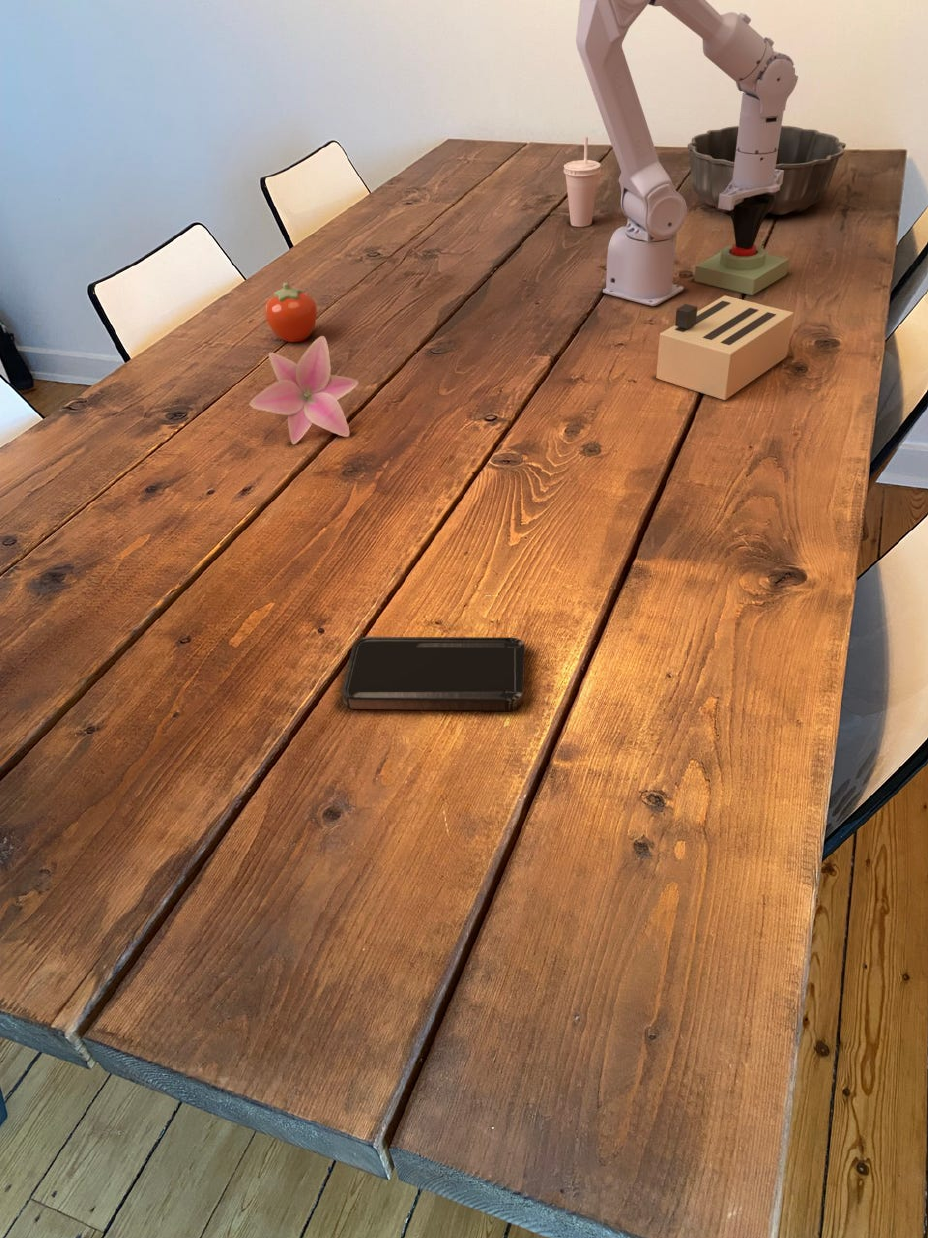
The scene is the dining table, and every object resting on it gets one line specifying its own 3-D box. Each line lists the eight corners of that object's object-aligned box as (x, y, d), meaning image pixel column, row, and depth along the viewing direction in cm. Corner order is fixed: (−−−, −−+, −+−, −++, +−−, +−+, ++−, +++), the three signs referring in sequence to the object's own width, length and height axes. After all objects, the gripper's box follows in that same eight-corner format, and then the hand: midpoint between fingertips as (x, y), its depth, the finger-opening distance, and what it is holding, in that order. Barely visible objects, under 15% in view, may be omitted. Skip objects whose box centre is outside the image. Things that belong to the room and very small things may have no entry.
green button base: (693, 281, 145) (696, 254, 142) (728, 261, 150) (731, 235, 147) (752, 295, 139) (756, 268, 137) (786, 274, 145) (790, 247, 142)
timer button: (725, 259, 143) (727, 247, 142) (738, 252, 145) (739, 240, 144) (747, 264, 141) (748, 252, 140) (759, 257, 143) (761, 245, 142)
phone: (522, 701, 76) (339, 698, 78) (522, 711, 77) (341, 708, 78) (524, 636, 82) (355, 635, 84) (524, 646, 83) (356, 645, 84)
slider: (674, 325, 118) (676, 308, 116) (683, 320, 119) (685, 303, 117) (687, 329, 117) (688, 311, 115) (696, 323, 118) (697, 306, 116)
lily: (245, 446, 116) (243, 399, 107) (272, 371, 121) (272, 321, 112) (340, 472, 117) (346, 428, 108) (364, 397, 122) (371, 349, 113)
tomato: (330, 329, 139) (322, 275, 133) (303, 350, 134) (293, 295, 128) (288, 323, 141) (278, 270, 136) (260, 344, 136) (248, 289, 131)
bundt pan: (852, 189, 173) (864, 130, 167) (808, 234, 157) (819, 170, 150) (714, 175, 185) (720, 118, 179) (660, 215, 169) (664, 155, 162)
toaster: (655, 378, 121) (659, 332, 117) (719, 338, 129) (724, 294, 125) (724, 400, 115) (730, 353, 111) (786, 356, 123) (794, 311, 119)
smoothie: (597, 229, 165) (600, 142, 156) (560, 228, 166) (561, 142, 157) (600, 217, 170) (603, 131, 161) (565, 217, 171) (566, 132, 162)
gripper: (755, 165, 127) (742, 266, 136) (808, 140, 135) (792, 238, 143) (709, 157, 131) (699, 257, 139) (763, 134, 138) (751, 229, 147)
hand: (744, 247), depth 142 cm, fingers closed, pressing on timer button
